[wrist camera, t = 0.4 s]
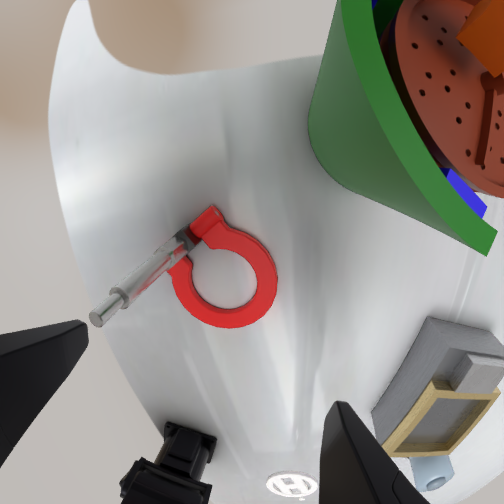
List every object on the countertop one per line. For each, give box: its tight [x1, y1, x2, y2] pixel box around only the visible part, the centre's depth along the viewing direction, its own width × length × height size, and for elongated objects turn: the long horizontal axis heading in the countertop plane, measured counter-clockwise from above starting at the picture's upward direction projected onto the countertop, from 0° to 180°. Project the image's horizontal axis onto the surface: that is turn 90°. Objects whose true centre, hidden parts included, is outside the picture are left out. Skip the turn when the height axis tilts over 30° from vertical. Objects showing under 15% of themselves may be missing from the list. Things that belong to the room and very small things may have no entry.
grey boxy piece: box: [371, 317, 504, 457], centre depth 20 cm, size 15×9×6 cm, turn 167°
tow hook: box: [89, 206, 278, 329], centre depth 17 cm, size 8×13×9 cm
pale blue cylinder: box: [407, 455, 454, 492], centre depth 22 cm, size 6×6×7 cm
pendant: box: [266, 471, 318, 501], centre depth 31 cm, size 7×11×1 cm, turn 22°
